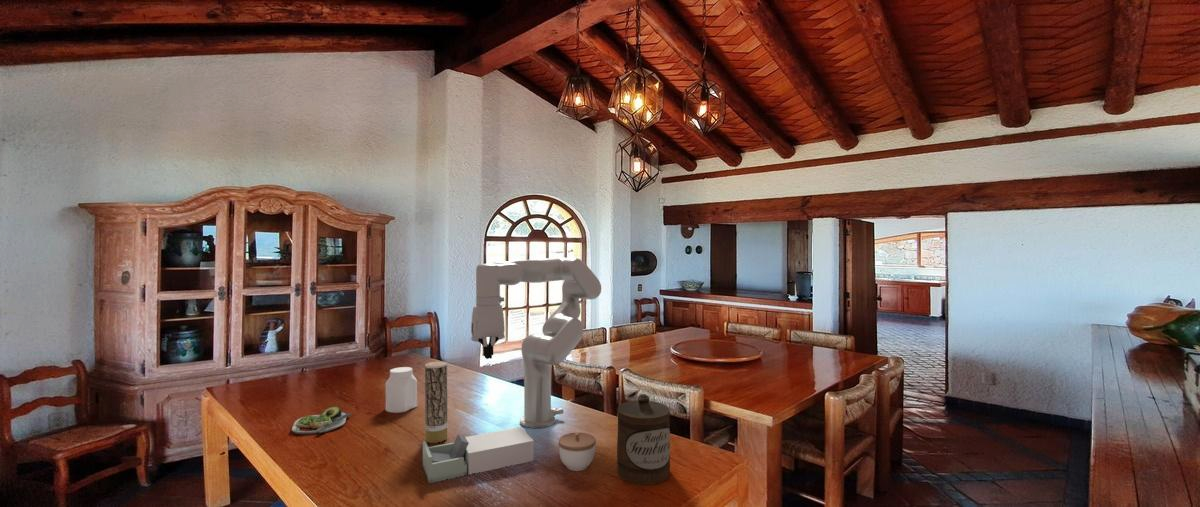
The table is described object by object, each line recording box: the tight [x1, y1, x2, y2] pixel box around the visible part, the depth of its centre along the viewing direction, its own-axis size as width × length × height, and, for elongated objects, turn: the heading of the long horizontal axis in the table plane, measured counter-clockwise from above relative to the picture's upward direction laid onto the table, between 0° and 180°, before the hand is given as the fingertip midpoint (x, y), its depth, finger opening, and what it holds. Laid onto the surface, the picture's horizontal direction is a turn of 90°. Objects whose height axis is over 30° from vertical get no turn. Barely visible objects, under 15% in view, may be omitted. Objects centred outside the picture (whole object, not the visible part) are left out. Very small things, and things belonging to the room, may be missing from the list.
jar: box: [384, 366, 418, 414], centre depth 189 cm, size 12×10×15 cm
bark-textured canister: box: [424, 361, 448, 444], centre depth 157 cm, size 7×7×25 cm
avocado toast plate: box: [291, 406, 352, 436], centre depth 169 cm, size 19×18×5 cm
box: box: [422, 440, 468, 484], centre depth 136 cm, size 10×12×7 cm
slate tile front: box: [430, 452, 451, 463], centre depth 136 cm, size 6×6×2 cm
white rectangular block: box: [463, 426, 535, 475], centre depth 143 cm, size 19×12×6 cm, turn 118°
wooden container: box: [616, 393, 671, 486], centre depth 135 cm, size 15×15×22 cm
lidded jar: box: [558, 432, 597, 472], centre depth 139 cm, size 11×11×9 cm
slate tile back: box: [449, 433, 469, 459], centre depth 138 cm, size 6×6×2 cm
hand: (488, 357), depth 157 cm, fingers closed
